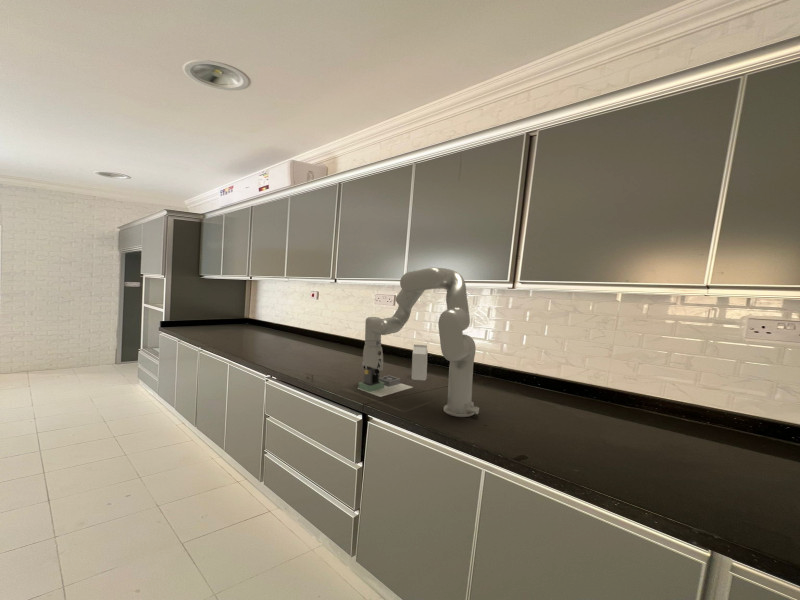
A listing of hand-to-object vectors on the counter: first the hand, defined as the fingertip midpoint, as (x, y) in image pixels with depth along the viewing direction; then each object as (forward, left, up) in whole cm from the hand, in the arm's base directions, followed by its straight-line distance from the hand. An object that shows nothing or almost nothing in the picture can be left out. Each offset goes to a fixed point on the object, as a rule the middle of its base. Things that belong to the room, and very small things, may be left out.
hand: (371, 381), depth 166 cm
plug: (0, 0, -2) cm, 2 cm away
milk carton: (-3, -31, -5) cm, 32 cm away
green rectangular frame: (0, 0, -3) cm, 3 cm away
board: (-4, -5, -5) cm, 8 cm away
